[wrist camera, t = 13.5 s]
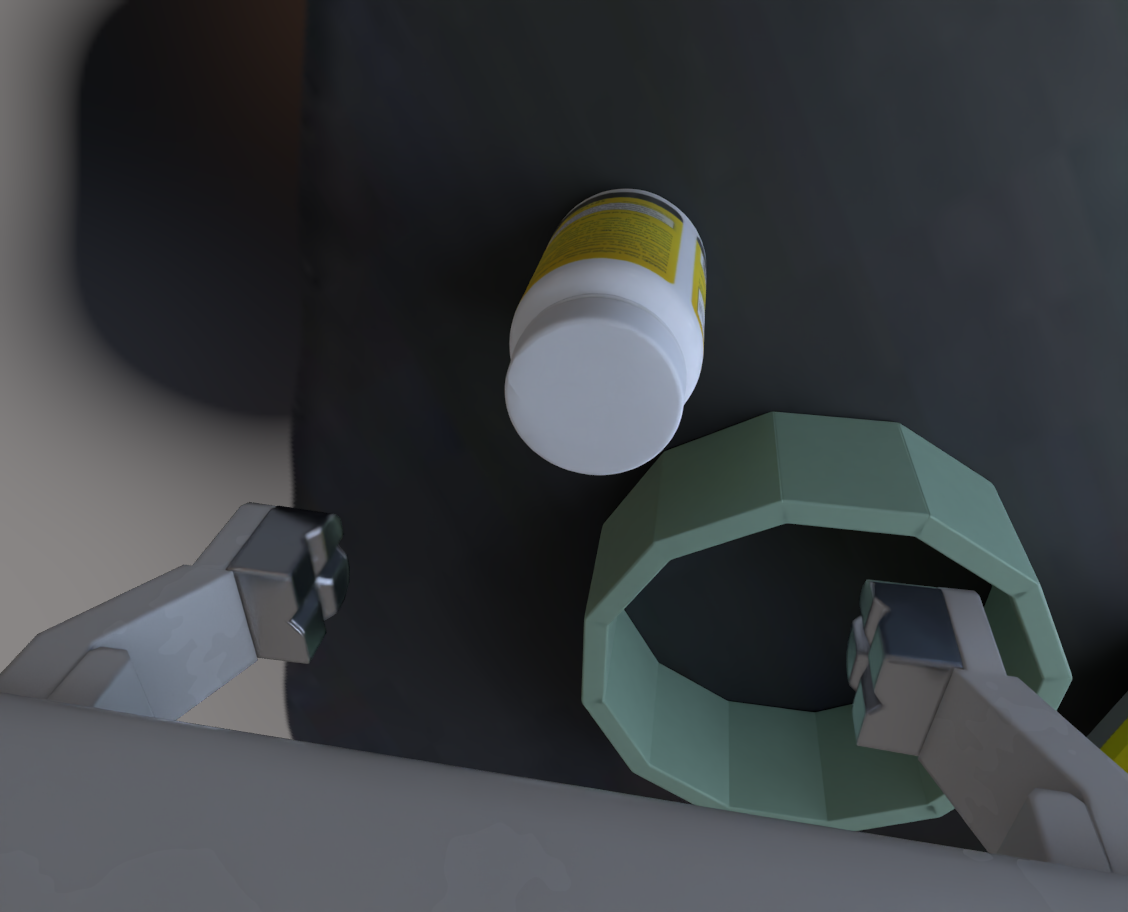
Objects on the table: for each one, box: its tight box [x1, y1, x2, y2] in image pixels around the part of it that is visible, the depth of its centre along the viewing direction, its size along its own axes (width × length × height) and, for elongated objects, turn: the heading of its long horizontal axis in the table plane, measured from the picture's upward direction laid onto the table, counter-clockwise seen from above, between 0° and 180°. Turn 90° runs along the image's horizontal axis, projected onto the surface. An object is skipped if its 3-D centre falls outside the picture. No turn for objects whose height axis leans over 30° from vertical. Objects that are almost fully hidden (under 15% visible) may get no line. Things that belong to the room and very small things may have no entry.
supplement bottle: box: [505, 189, 706, 475], centre depth 22 cm, size 5×5×8 cm
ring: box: [581, 411, 1072, 831], centre depth 29 cm, size 15×15×5 cm
